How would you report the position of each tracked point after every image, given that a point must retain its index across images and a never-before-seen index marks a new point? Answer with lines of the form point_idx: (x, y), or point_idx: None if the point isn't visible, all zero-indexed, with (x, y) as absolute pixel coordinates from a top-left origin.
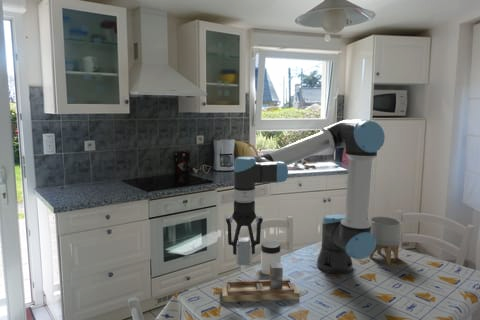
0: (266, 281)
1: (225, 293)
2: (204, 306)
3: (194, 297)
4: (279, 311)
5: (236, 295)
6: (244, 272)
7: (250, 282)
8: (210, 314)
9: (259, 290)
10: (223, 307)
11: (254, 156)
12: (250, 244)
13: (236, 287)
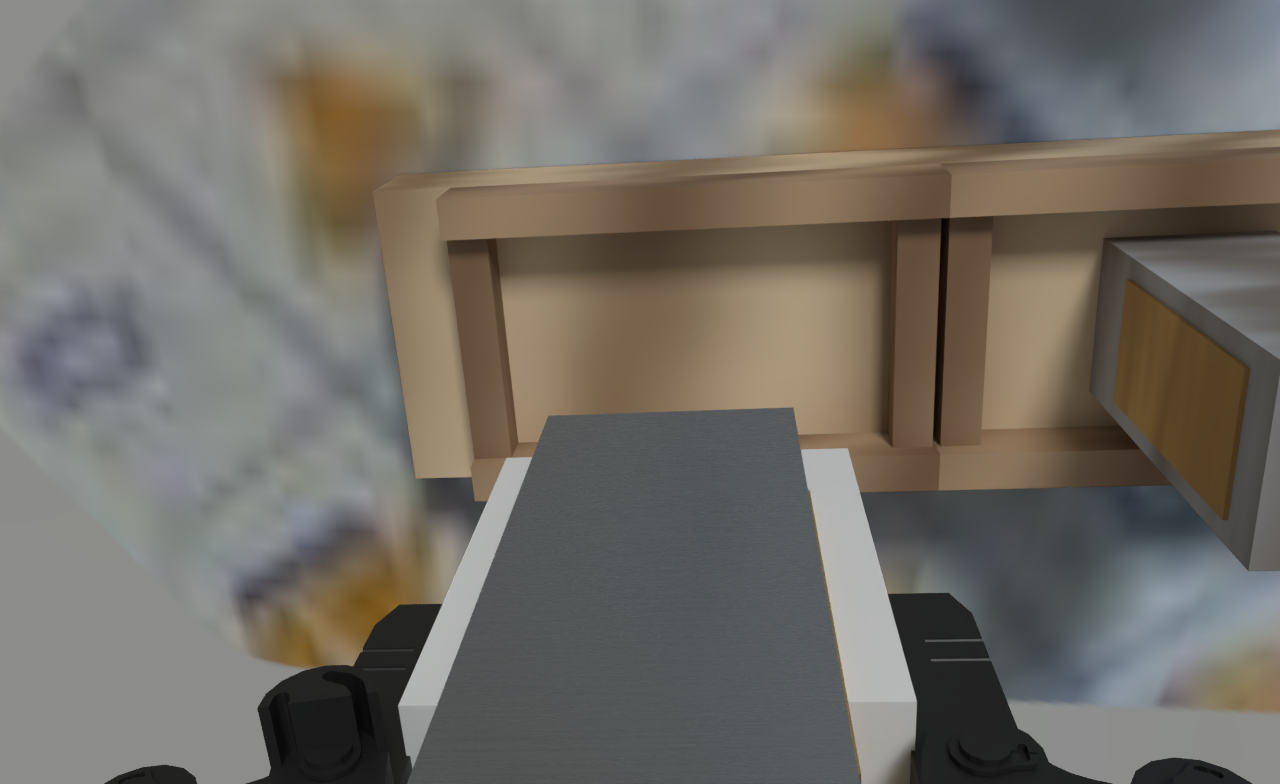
0: (1075, 211)
1: (448, 427)
2: (248, 517)
3: (82, 327)
4: (1083, 638)
5: None
6: None
7: (807, 222)
8: (341, 655)
9: (912, 489)
10: (460, 543)
11: None
12: (885, 748)
13: (591, 273)
